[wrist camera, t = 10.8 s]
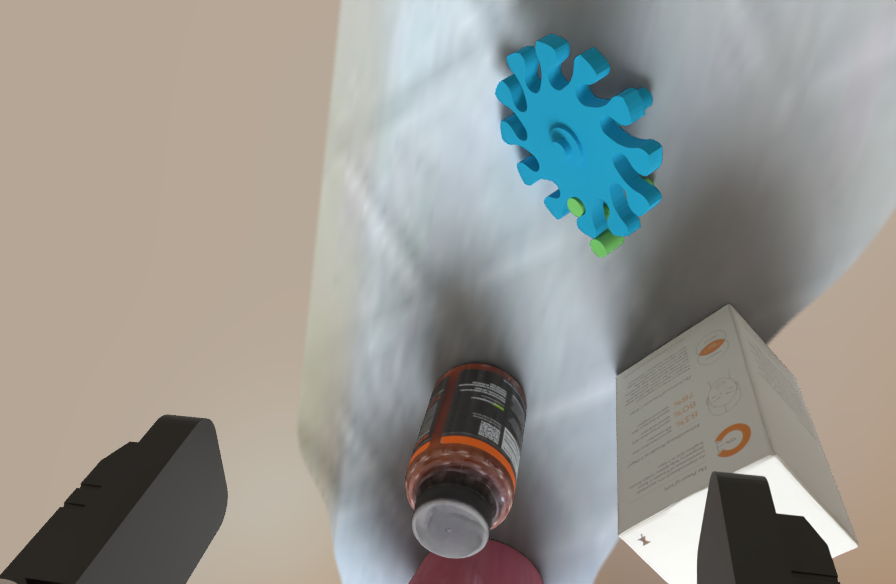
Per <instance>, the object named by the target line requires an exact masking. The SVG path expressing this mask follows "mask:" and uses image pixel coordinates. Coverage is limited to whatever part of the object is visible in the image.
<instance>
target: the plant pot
mask: <svg viewBox="0 0 896 584" xmlns="http://www.w3.org/2000/svg"><path fill="white" fill-rule="evenodd" d="M409 584H543V581H542V578H541V576H540V574H539V572H538V571H537V569H536V568H535V566H534V565H533V564H532V563H531V562H530V561H529V560H528V559H527V558H526V557H525V556H524V555H522V554H521V553H520V552H518V551H517V550H515V549H513V548H512V547H510V546H508V545H505V544H503V543H501V542H497V541H494V540H490V539H488V541H487V543H486V545H485V547H484V548H483V549H482V550H481V551H479V552H478V553H477V554H474V555H472V556H470V557H465V558H446V557H442V556H439V555H437V554H435V553H432V552H429V553H428V554H427V556H426V557H425V558H424V560H423V561H422V563H421V565H420V566H419V568H418V570H417V571H416V573H415V574H414V576H413V578H412V579H411V581H410V582H409Z"/></svg>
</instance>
